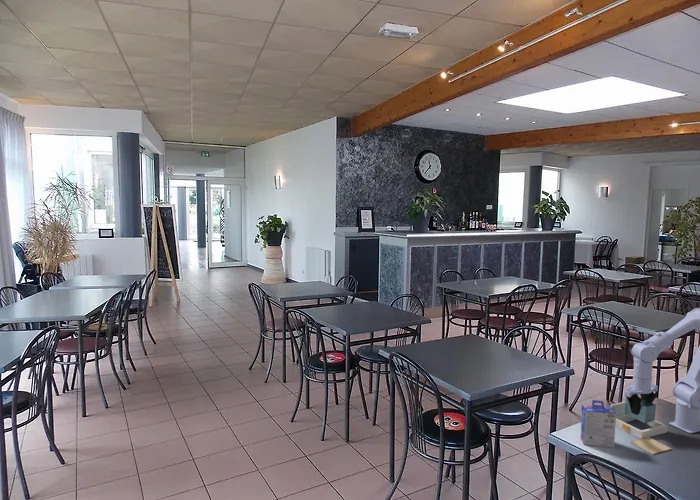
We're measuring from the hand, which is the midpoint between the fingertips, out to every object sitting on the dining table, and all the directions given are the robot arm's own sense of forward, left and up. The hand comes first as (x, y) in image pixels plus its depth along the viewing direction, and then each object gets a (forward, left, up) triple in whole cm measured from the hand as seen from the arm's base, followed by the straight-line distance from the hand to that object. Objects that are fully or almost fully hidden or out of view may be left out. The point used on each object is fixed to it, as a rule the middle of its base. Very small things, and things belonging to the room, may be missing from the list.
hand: (639, 412), depth 171 cm
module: (0, 0, -2) cm, 2 cm away
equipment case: (0, 0, -6) cm, 6 cm away
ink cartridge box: (+23, +2, -6) cm, 24 cm away
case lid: (0, -7, -6) cm, 9 cm away
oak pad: (+8, +10, -6) cm, 15 cm away
